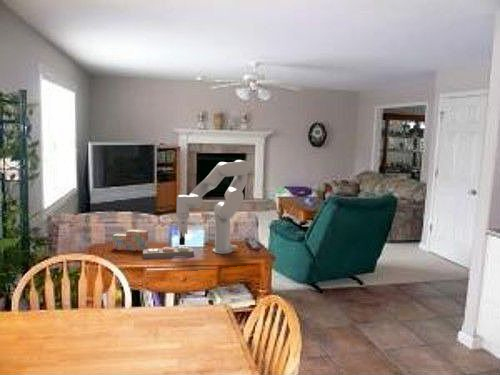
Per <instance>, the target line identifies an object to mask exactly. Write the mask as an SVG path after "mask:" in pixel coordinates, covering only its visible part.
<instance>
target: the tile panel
mask: <svg viewBox="0 0 500 375" xmlns="http://www.w3.org/2000/svg"><path fill="white" fill-rule="evenodd" d="M187 247H188V246H187ZM148 249H149V248H148ZM148 249H143V251H142V259H162V258H161V257H164V258H176V257H175V256H186V257H194V256H195V255H194V254H195V251H194V249H193V247H192V246H191V247H188V251H178V247H173V251H172V252H164V251H163V248H157V249H158V252H149V253H148Z"/></svg>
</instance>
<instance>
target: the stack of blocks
mask: <svg viewBox="0 0 500 375" xmlns="http://www.w3.org/2000/svg"><path fill="white" fill-rule="evenodd" d="M147 248H148V249H149V230H147V229H127V230H126V232H125V233H114V234H113V235H112V250H115V249H116V250H115V251H117V250H119V251H136V250H138V251H139V252H143V249H147ZM141 250H142V251H141Z"/></svg>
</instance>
